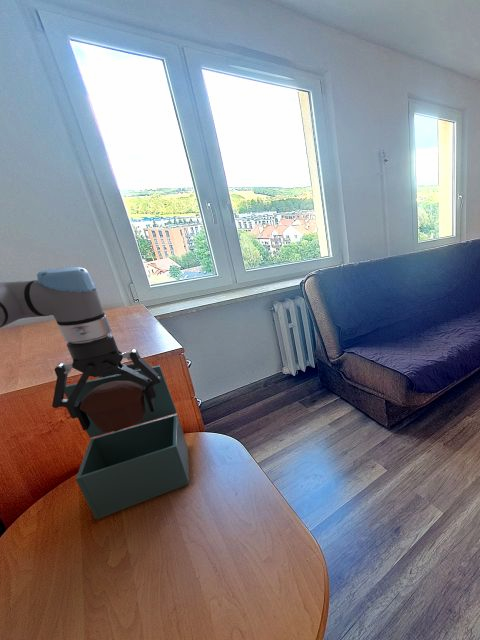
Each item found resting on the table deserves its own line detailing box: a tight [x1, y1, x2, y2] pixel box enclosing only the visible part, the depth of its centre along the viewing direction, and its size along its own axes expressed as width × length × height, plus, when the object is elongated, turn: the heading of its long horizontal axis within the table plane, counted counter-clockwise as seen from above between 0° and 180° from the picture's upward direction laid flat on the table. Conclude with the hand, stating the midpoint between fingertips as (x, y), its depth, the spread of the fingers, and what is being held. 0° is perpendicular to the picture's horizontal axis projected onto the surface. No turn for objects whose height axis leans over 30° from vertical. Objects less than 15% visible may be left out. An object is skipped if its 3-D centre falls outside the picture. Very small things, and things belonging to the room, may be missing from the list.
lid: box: [64, 362, 178, 439], centre depth 90 cm, size 17×19×8 cm
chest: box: [75, 413, 190, 520], centre depth 88 cm, size 16×19×13 cm
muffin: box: [80, 381, 146, 433], centre depth 80 cm, size 12×11×10 cm
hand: (121, 417), depth 82 cm, fingers closed on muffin, 12 cm apart
